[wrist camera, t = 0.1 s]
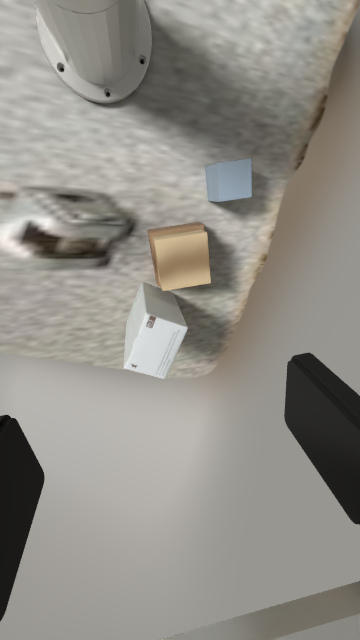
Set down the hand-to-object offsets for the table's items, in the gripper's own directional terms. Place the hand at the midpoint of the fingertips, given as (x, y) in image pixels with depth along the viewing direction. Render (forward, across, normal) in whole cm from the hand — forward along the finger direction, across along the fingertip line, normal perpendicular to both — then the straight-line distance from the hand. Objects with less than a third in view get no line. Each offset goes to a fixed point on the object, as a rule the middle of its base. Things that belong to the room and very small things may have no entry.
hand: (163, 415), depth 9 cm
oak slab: (+33, -6, +2) cm, 34 cm away
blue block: (+37, -14, -7) cm, 40 cm away
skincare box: (+37, 0, +11) cm, 38 cm away
